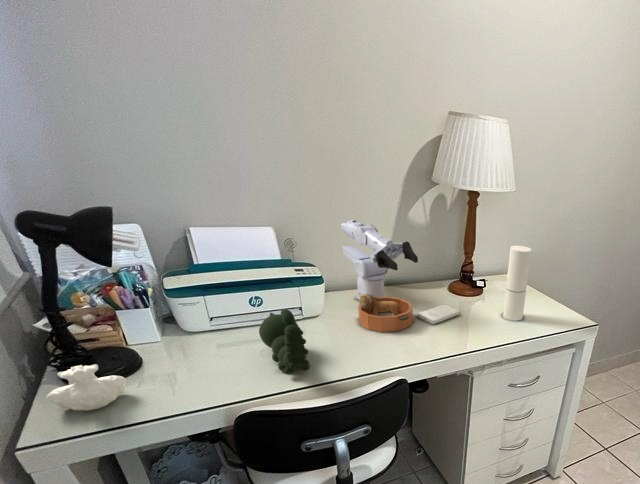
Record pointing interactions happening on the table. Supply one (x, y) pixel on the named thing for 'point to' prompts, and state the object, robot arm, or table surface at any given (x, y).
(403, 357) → the table surface
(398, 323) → the orange round basin
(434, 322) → the hard drive
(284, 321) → the toy figurine
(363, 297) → the lion figurine
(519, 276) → the cylindrical container
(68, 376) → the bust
